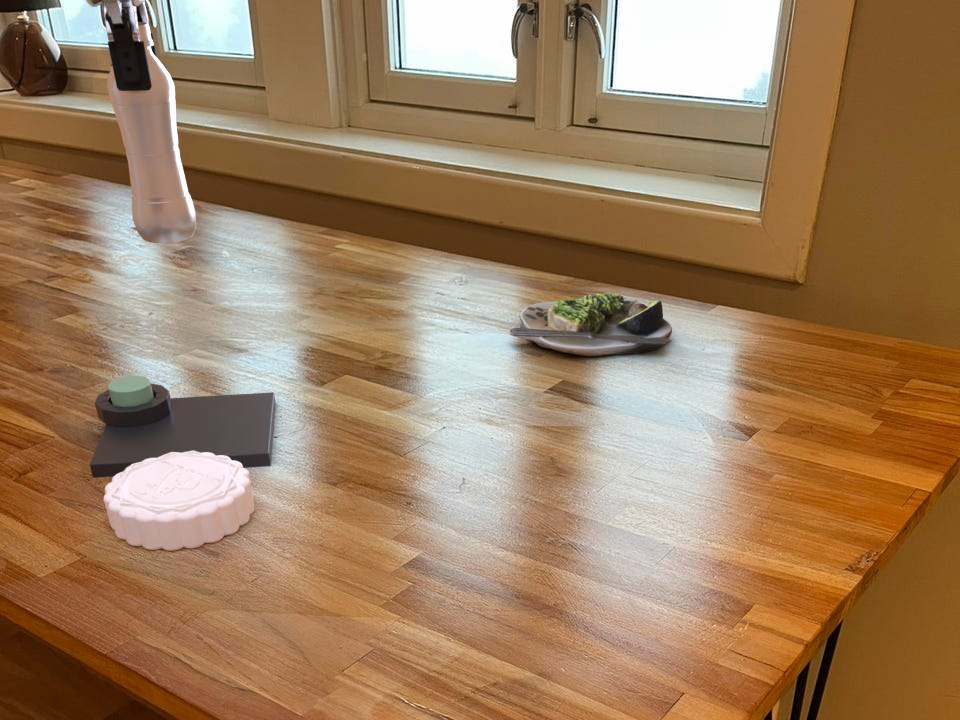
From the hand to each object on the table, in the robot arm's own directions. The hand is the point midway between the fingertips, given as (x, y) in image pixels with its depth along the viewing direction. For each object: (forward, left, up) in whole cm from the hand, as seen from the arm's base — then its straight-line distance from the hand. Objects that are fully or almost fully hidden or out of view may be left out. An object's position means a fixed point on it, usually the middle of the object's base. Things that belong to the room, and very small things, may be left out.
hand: (139, 82), depth 95 cm
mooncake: (+3, -38, -28) cm, 47 cm away
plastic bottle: (0, 0, -15) cm, 15 cm away
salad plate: (+48, -1, -28) cm, 56 cm away
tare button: (-3, -19, -25) cm, 31 cm away
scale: (+2, -23, -27) cm, 36 cm away
